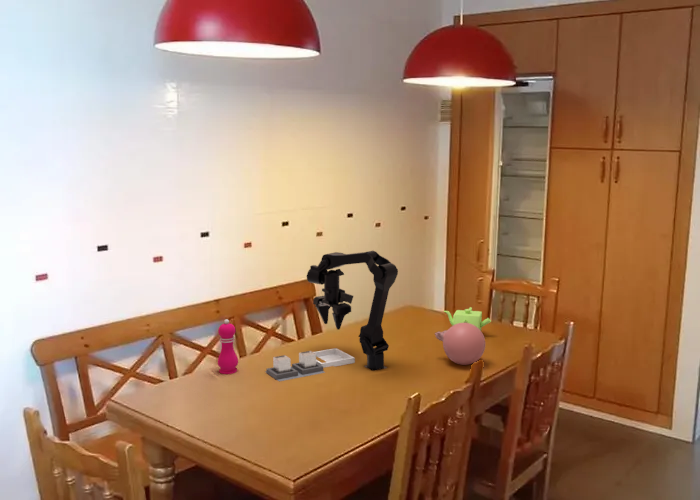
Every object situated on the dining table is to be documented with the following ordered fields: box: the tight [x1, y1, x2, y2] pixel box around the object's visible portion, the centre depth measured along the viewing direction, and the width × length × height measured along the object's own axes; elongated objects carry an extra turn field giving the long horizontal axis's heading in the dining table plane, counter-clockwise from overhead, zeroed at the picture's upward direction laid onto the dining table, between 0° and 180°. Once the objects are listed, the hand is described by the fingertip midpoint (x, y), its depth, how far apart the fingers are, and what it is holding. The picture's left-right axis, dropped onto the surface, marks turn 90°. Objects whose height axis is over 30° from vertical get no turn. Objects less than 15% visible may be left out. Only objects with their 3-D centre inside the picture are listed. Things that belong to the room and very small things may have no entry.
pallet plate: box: [264, 362, 326, 382], centre depth 262 cm, size 12×18×3 cm, turn 120°
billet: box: [272, 355, 292, 374], centre depth 259 cm, size 4×4×6 cm
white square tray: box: [312, 347, 356, 369], centre depth 275 cm, size 14×14×2 cm
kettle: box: [443, 306, 492, 332], centre depth 309 cm, size 15×14×11 cm
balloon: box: [434, 323, 486, 366], centre depth 273 cm, size 15×20×15 cm
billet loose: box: [298, 350, 317, 369], centre depth 264 cm, size 4×4×6 cm
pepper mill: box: [217, 319, 239, 375], centre depth 261 cm, size 7×7×20 cm
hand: (332, 326), depth 279 cm, fingers open, 9 cm apart
